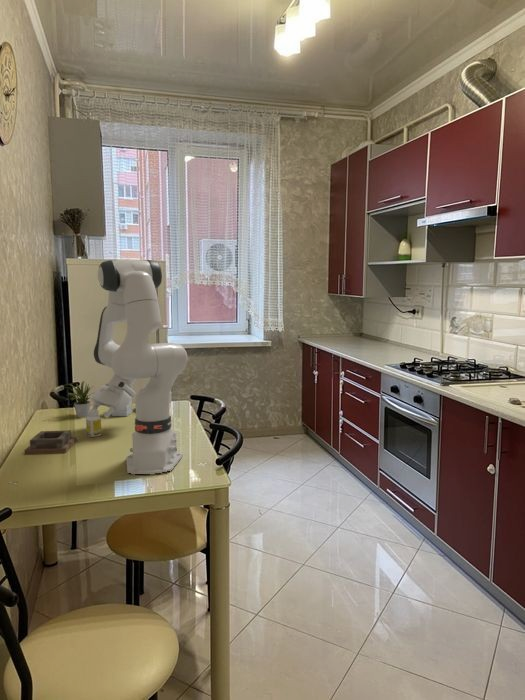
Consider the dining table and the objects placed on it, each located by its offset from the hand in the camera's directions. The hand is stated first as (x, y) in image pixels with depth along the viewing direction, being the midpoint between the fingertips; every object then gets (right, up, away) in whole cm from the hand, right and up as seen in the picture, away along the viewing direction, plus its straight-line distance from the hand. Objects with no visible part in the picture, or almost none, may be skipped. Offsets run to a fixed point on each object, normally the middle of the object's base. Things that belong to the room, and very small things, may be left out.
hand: (98, 414), depth 196 cm
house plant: (-17, -4, +29) cm, 34 cm away
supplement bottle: (-1, -8, -1) cm, 8 cm away
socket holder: (-12, -10, -15) cm, 21 cm away
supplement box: (+1, -4, +30) cm, 31 cm away
